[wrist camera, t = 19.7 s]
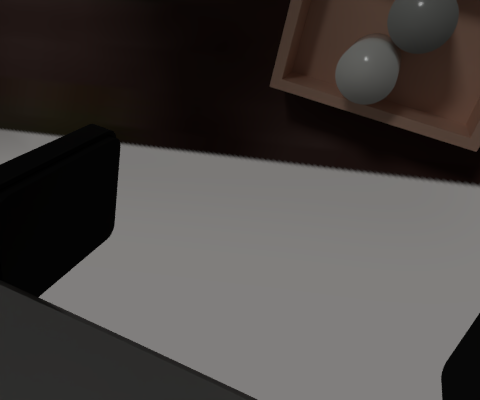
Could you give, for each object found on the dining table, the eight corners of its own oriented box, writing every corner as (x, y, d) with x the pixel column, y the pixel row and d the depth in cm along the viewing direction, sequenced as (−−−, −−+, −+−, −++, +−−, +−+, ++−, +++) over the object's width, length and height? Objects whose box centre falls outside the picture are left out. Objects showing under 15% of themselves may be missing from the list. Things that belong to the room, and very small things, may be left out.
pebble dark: (404, -25, 31) (402, -25, 26) (463, -11, 30) (471, -8, 25) (383, 34, 33) (377, 43, 28) (437, 49, 32) (441, 61, 27)
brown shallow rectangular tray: (324, -83, 31) (313, -90, 28) (555, -30, 28) (574, -31, 25) (282, 76, 37) (269, 86, 34) (470, 134, 34) (476, 152, 31)
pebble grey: (357, 26, 33) (347, 35, 28) (410, 41, 32) (408, 53, 28) (340, 78, 35) (327, 94, 31) (389, 93, 34) (383, 112, 30)
